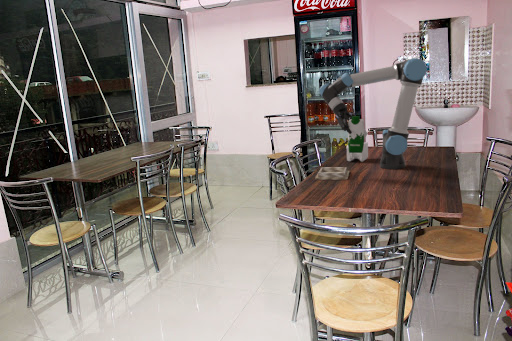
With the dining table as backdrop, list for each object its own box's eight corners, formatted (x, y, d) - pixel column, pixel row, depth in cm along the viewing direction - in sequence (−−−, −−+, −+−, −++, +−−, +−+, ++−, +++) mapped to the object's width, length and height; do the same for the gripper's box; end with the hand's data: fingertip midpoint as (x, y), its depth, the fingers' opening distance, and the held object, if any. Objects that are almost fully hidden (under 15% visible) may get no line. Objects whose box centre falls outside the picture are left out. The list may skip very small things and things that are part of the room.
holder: (349, 172, 258) (349, 166, 257) (347, 179, 241) (347, 173, 240) (319, 172, 263) (319, 166, 262) (315, 179, 246) (314, 173, 245)
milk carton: (347, 153, 240) (347, 117, 235) (349, 150, 248) (349, 115, 244) (363, 153, 237) (363, 116, 233) (364, 150, 245) (365, 115, 241)
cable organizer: (361, 163, 282) (361, 145, 279) (346, 162, 287) (345, 145, 285) (368, 158, 294) (368, 141, 292) (353, 157, 300) (353, 141, 297)
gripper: (346, 109, 256) (368, 138, 248) (321, 113, 243) (344, 143, 234) (353, 100, 251) (376, 129, 242) (328, 103, 237) (352, 134, 229)
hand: (360, 136), depth 238 cm, fingers closed on milk carton, 9 cm apart
